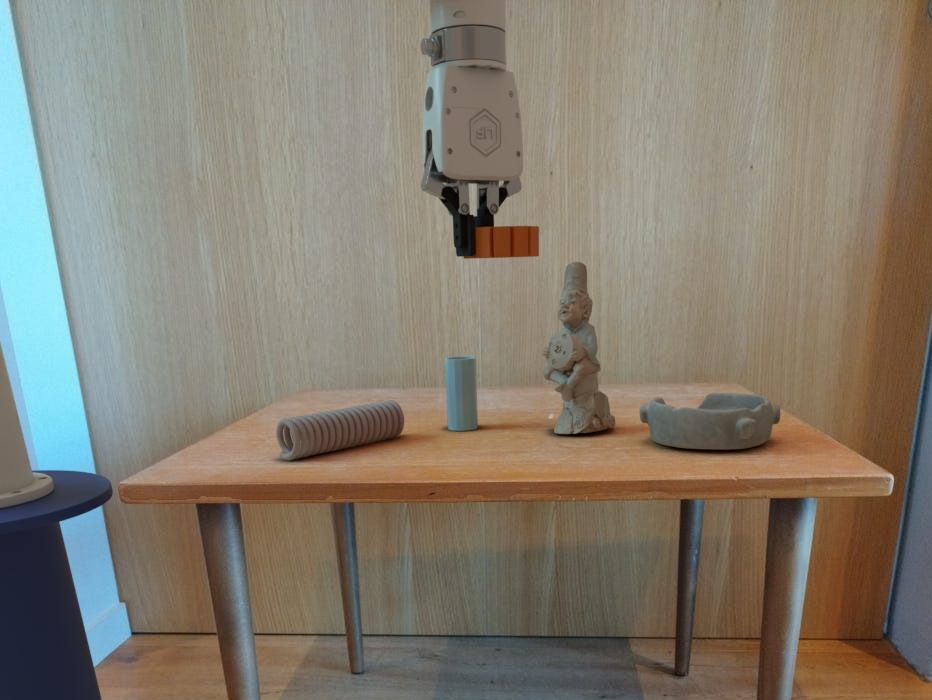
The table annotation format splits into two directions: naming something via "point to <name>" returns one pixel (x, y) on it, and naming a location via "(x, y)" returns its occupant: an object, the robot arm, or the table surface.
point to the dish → (713, 422)
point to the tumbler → (461, 393)
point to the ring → (506, 242)
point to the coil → (339, 429)
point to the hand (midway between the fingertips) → (474, 254)
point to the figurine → (577, 360)
